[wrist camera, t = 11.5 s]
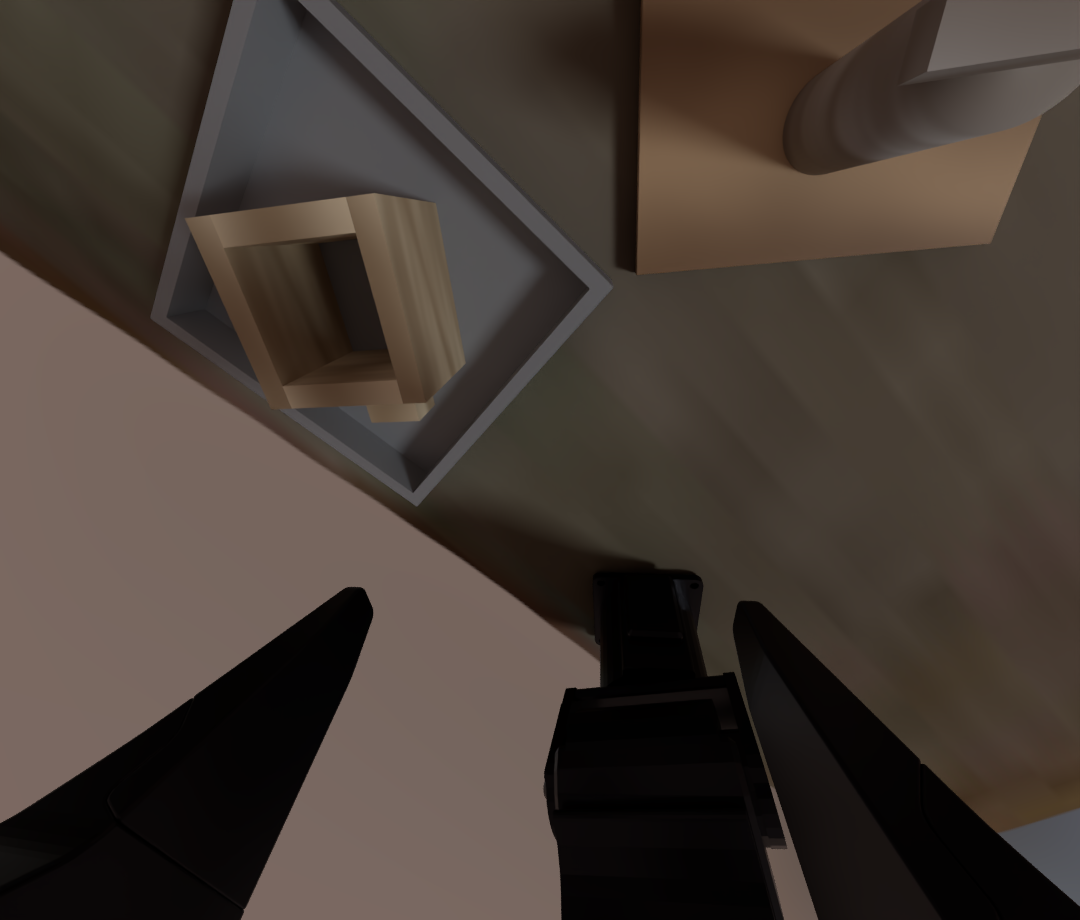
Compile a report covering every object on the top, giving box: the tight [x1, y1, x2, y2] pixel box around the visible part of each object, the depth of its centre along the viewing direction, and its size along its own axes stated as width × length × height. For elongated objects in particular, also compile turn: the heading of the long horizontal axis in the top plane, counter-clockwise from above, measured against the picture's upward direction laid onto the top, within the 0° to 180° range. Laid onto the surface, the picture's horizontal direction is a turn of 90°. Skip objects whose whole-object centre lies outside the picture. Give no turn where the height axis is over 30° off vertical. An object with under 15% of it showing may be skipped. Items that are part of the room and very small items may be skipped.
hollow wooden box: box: [185, 193, 466, 423], centre depth 16 cm, size 6×8×5 cm
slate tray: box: [150, 0, 613, 506], centre depth 17 cm, size 14×14×2 cm
